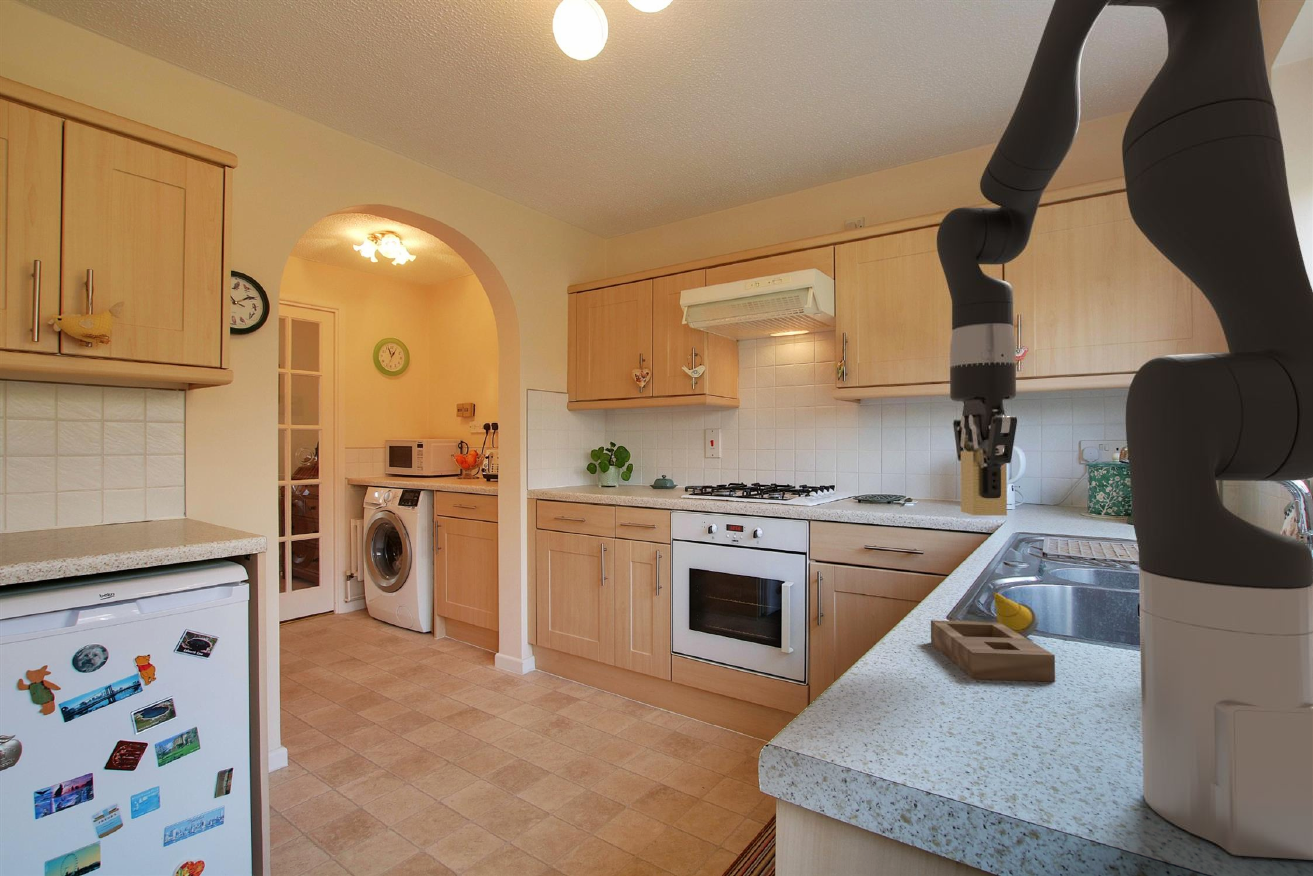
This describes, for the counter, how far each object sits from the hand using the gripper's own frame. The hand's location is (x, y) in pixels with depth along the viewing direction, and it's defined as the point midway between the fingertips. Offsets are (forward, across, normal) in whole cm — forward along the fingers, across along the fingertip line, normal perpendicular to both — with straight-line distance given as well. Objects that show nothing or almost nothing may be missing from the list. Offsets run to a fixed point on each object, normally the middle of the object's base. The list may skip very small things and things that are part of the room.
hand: (982, 495), depth 80 cm
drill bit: (+21, +8, -8) cm, 24 cm away
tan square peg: (+2, 0, 0) cm, 2 cm away
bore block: (+21, -2, 0) cm, 21 cm away
